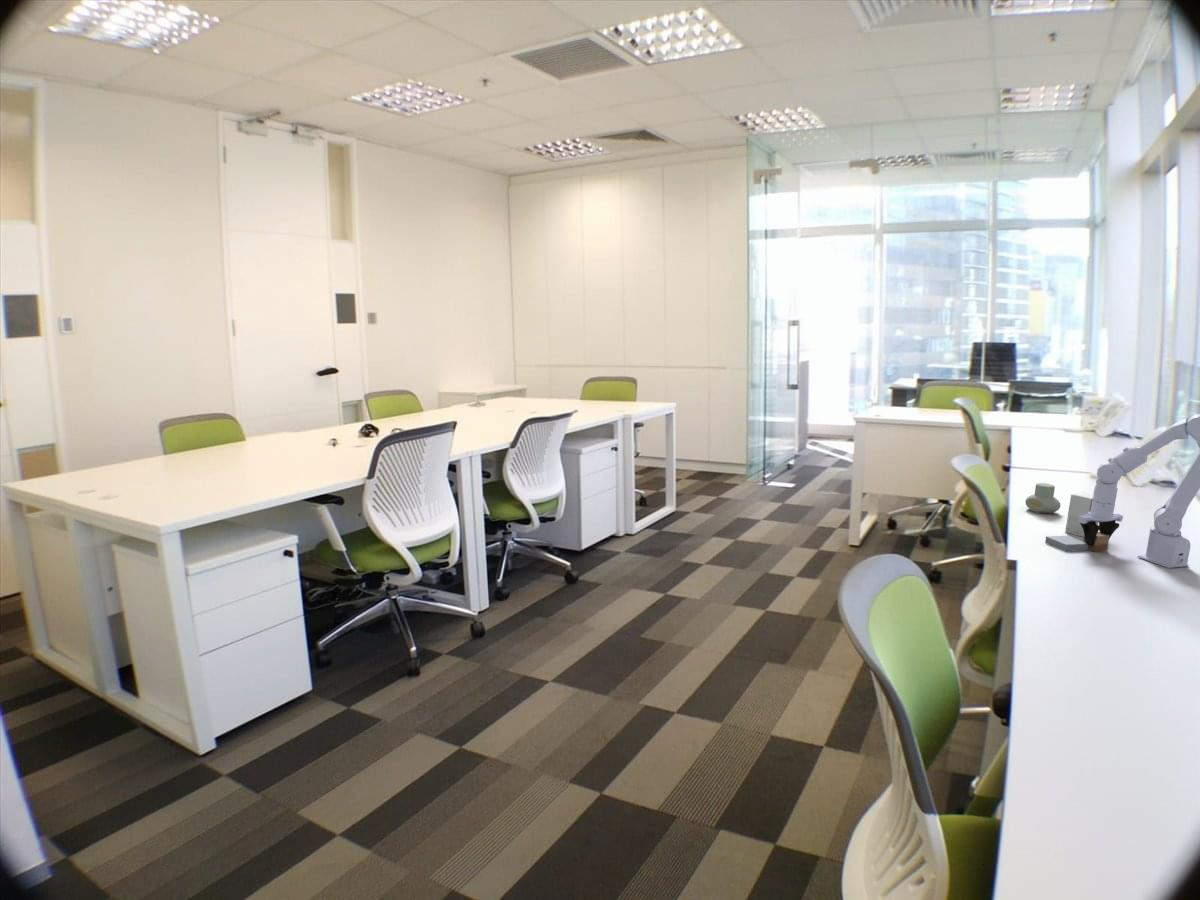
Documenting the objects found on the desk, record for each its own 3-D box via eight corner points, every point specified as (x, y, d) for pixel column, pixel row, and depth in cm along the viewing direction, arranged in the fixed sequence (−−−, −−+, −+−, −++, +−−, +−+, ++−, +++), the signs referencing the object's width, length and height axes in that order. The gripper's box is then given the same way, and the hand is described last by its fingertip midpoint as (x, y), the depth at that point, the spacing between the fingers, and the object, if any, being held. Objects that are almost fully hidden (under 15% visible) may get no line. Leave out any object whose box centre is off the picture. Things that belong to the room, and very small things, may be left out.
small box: (1085, 537, 235) (1091, 498, 233) (1064, 532, 241) (1070, 494, 238) (1097, 533, 240) (1103, 495, 237) (1076, 528, 245) (1082, 491, 242)
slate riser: (1087, 553, 224) (1088, 543, 223) (1064, 554, 222) (1066, 544, 222) (1066, 544, 231) (1068, 535, 231) (1044, 545, 230) (1046, 536, 229)
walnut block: (1107, 551, 222) (1109, 535, 221) (1095, 552, 221) (1097, 536, 220) (1094, 546, 227) (1096, 531, 226) (1082, 547, 226) (1084, 531, 225)
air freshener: (1063, 514, 261) (1067, 487, 259) (1047, 516, 258) (1051, 489, 256) (1035, 506, 271) (1039, 480, 269) (1020, 508, 268) (1023, 482, 266)
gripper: (1110, 497, 226) (1103, 538, 229) (1072, 499, 223) (1065, 541, 226) (1132, 503, 219) (1123, 546, 222) (1093, 505, 216) (1085, 549, 219)
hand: (1095, 544), depth 223 cm, fingers closed on walnut block, 4 cm apart
